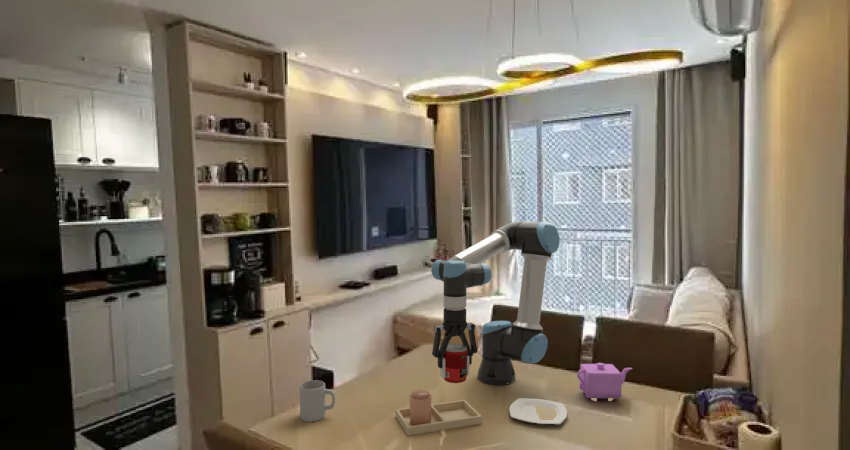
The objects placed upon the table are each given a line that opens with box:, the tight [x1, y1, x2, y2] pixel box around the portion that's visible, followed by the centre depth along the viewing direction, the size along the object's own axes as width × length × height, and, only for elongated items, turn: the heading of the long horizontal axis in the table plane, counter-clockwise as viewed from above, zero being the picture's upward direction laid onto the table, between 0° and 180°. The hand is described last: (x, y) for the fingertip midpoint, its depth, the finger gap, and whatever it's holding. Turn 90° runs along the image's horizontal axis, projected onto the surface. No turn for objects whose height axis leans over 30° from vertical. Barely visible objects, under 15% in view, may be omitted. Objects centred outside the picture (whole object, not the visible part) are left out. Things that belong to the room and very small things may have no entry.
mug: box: [299, 379, 336, 423], centre depth 170 cm, size 12×8×11 cm
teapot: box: [576, 362, 633, 399], centre depth 185 cm, size 20×10×12 cm, turn 88°
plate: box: [509, 397, 568, 425], centre depth 171 cm, size 19×19×2 cm
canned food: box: [443, 342, 468, 384], centre depth 167 cm, size 8×8×11 cm
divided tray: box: [395, 399, 483, 437], centre depth 166 cm, size 25×14×3 cm, turn 109°
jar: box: [409, 389, 432, 426], centre depth 164 cm, size 7×7×10 cm
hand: (454, 375), depth 167 cm, fingers closed on canned food, 8 cm apart
